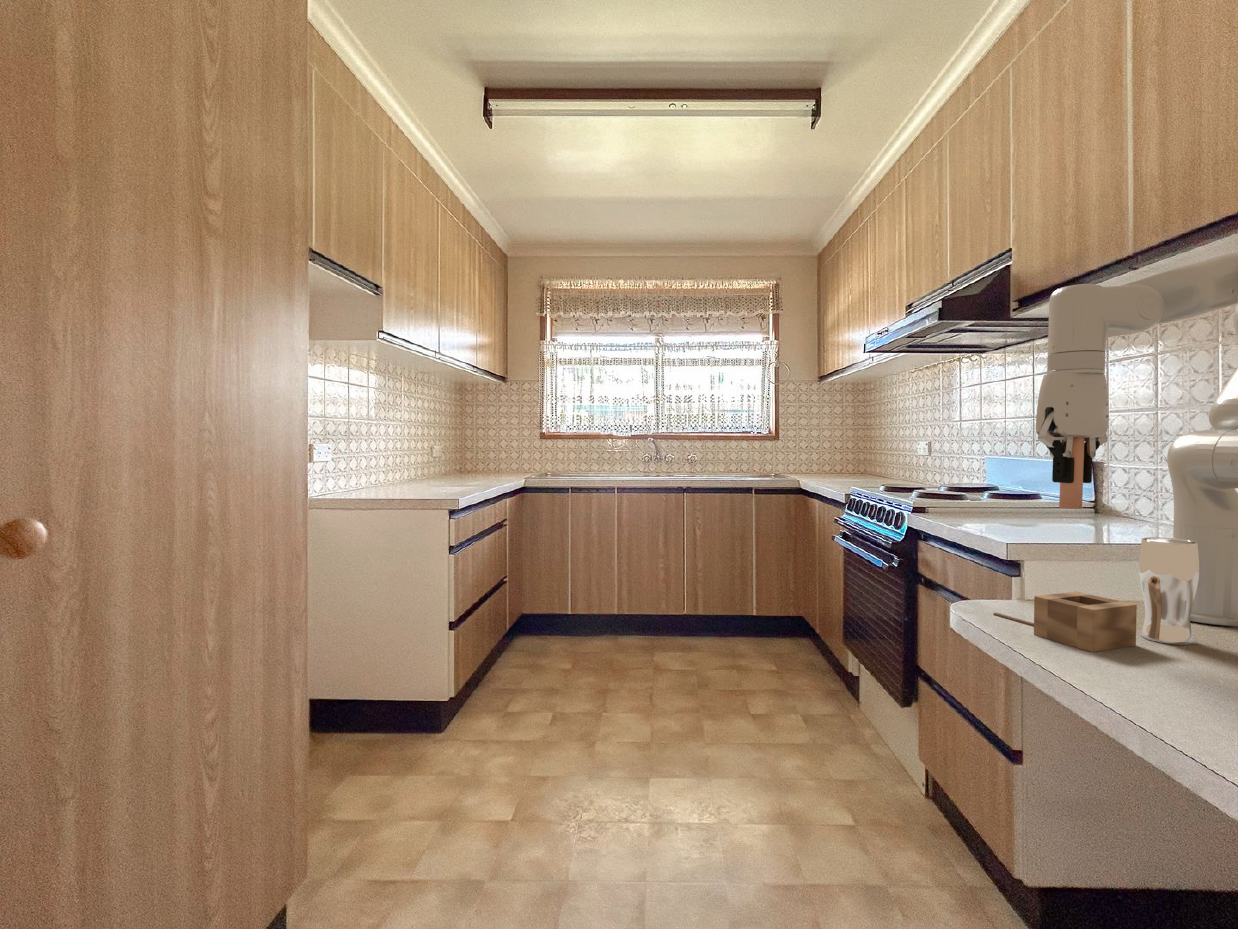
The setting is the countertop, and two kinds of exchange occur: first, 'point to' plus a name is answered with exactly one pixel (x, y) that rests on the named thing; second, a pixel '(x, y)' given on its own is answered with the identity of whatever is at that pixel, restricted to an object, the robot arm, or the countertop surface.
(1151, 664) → the countertop surface
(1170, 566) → the beer glass
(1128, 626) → the wooden block with hole
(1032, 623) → the brown thin square rod
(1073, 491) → the dowel
